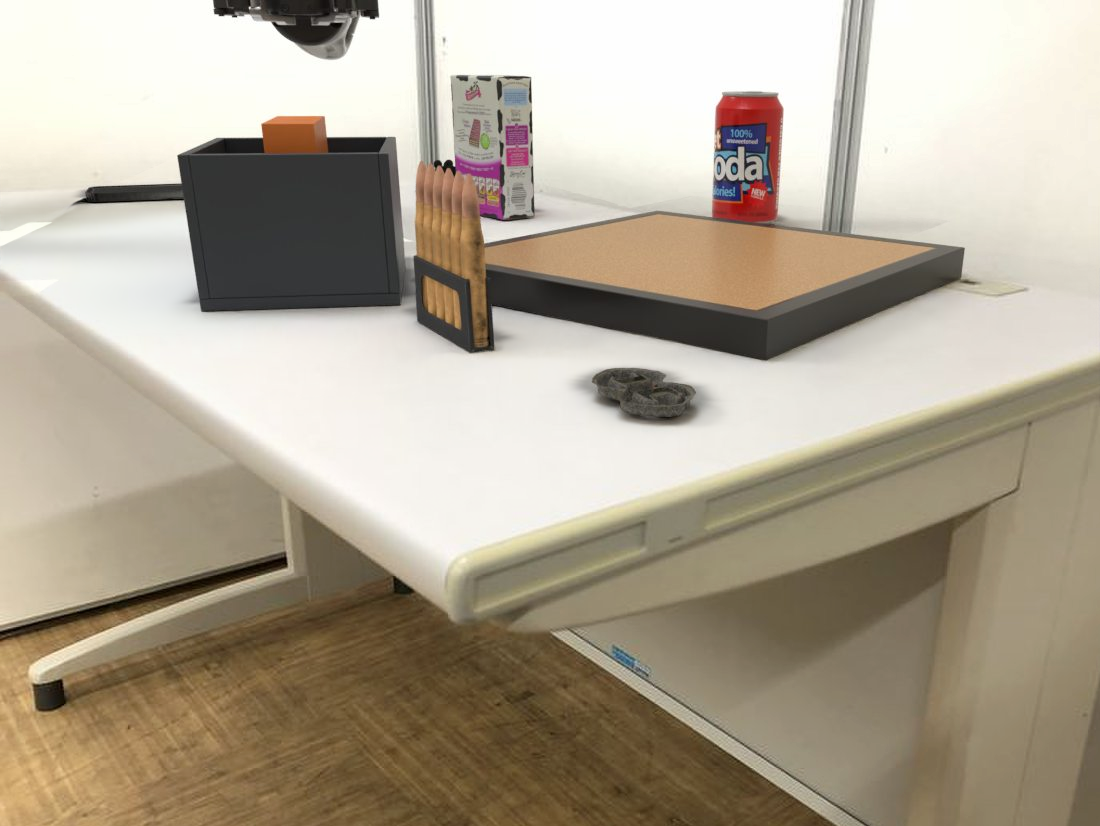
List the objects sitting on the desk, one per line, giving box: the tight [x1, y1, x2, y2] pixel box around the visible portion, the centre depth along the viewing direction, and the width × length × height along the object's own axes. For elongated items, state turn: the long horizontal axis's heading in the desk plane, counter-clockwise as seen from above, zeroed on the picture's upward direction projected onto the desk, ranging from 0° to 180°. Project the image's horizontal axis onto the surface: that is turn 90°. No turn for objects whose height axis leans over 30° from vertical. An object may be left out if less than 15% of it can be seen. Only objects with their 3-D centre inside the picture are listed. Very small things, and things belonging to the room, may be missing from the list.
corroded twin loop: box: [591, 367, 697, 418], centre depth 64 cm, size 5×8×1 cm, turn 30°
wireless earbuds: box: [433, 159, 456, 177], centre depth 146 cm, size 7×2×5 cm, turn 120°
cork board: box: [484, 210, 966, 361], centre depth 95 cm, size 36×3×35 cm
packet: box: [260, 115, 328, 153], centre depth 90 cm, size 4×9×13 cm, turn 10°
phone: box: [84, 182, 184, 203], centre depth 144 cm, size 8×1×15 cm
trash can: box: [176, 136, 406, 312], centre depth 90 cm, size 16×16×12 cm
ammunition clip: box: [412, 160, 495, 354], centre depth 76 cm, size 11×2×12 cm, turn 31°
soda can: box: [711, 90, 785, 224], centre depth 124 cm, size 8×8×15 cm
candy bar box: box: [449, 74, 536, 221], centre depth 130 cm, size 11×5×16 cm, turn 40°
